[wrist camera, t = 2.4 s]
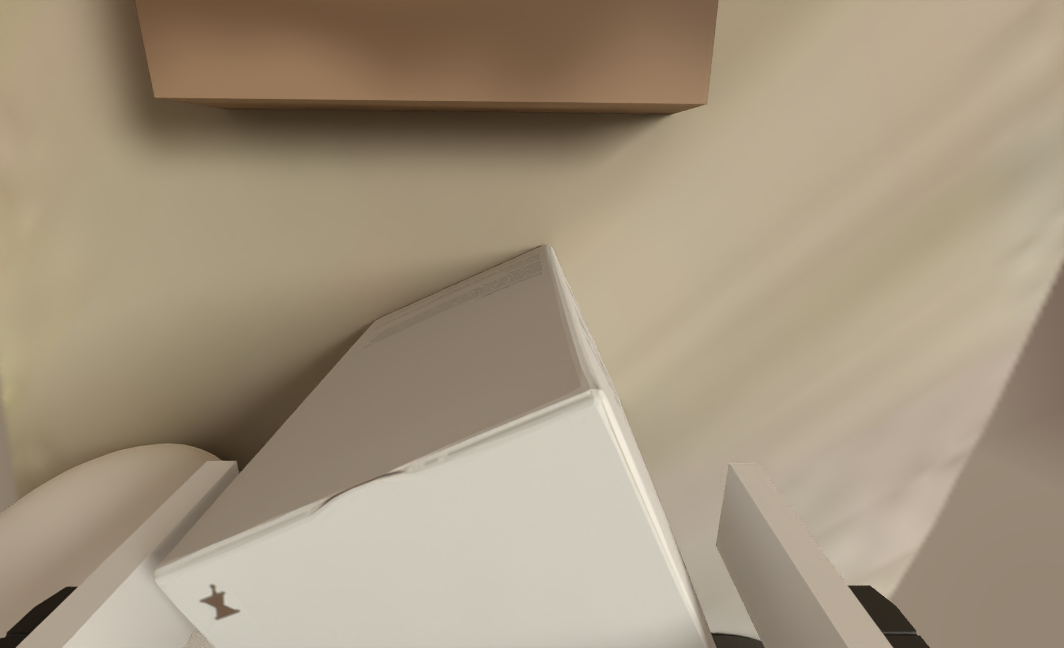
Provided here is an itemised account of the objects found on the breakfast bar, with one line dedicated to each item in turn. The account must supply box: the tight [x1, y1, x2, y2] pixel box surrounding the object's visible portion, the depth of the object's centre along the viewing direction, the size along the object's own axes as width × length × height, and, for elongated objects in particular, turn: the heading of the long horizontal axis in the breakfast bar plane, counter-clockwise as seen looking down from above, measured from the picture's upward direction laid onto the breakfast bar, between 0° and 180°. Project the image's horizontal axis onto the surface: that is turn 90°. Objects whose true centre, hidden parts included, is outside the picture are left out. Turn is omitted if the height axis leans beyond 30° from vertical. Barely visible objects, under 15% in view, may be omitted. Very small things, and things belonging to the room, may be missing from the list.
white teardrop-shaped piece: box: [0, 443, 222, 638], centre depth 17 cm, size 8×8×18 cm
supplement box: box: [153, 245, 716, 648], centre depth 17 cm, size 9×9×15 cm
